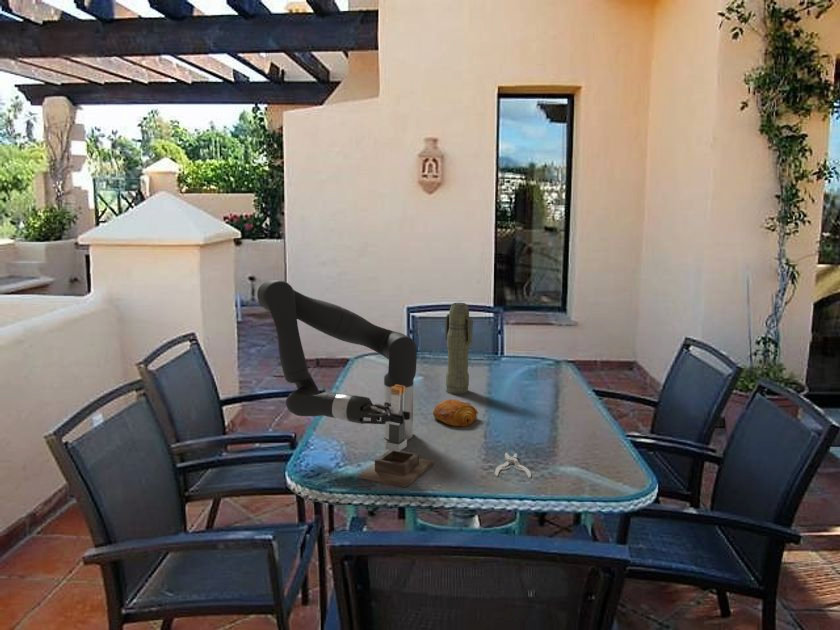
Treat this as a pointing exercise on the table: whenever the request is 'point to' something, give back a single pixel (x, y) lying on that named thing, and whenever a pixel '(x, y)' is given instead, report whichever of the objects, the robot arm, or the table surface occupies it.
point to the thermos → (458, 348)
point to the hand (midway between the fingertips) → (406, 417)
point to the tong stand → (396, 468)
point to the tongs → (397, 429)
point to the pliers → (512, 461)
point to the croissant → (455, 413)
